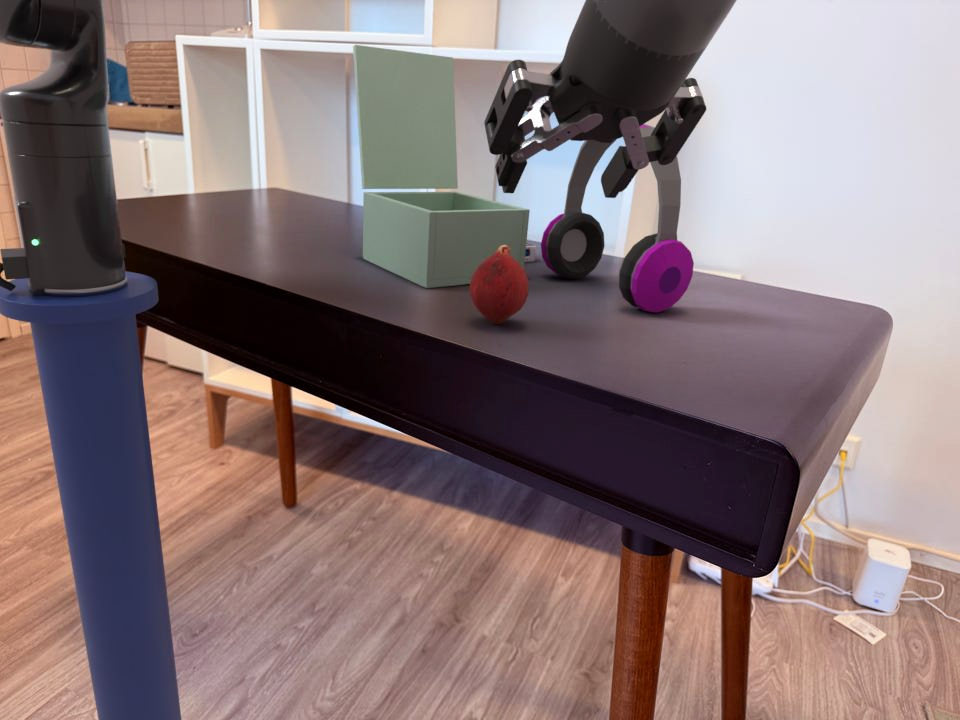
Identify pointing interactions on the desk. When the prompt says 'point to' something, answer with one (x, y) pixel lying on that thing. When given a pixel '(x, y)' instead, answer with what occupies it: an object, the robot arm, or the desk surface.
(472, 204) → the box body
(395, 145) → the lid
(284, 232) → the desk surface
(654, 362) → the desk surface
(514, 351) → the desk surface
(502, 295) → the red fruit
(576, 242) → the headphones
